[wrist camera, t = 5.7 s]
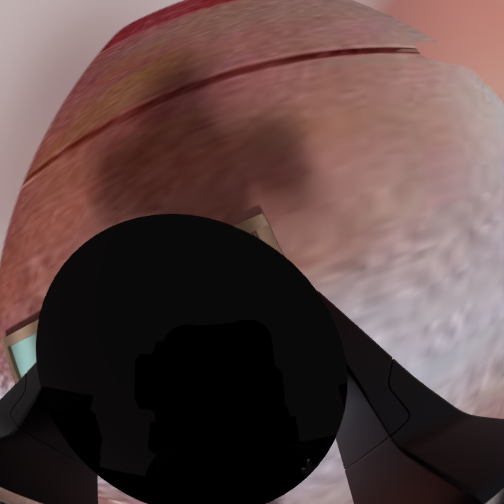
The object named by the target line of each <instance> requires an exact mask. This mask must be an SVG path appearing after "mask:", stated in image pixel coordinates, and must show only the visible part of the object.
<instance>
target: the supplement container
mask: <svg viewBox="0 0 504 504" xmlns="http://www.w3.org/2000/svg"><path fill="white" fill-rule="evenodd" d="M36 362H37V371H38V376H39V382H40V386H41V389H42V393H43V396H44V399H45V402H46V404H47V407H48V409H49V412H50V414H51V416H52V418H53V420H54V422H55V424H56V426H57V427H58V429H59V431H60V432H61V434H62V436H63V437H64V439H65V440H66V441H67V443H68V444H69V445H70V447H71V448H72V449H73V451H74V452H75V453H76V454H77V455H78V456H79V458H80V459H81V460H82V461H83V462H84V463H85V464H86V465H87V466H88V467H89V468H90V469H91V470H93V471H94V472H95V473H96V474H97V475H99V476H100V477H101V478H102V479H104V480H105V481H106V482H108V483H109V484H111V485H112V486H113V487H115V488H117V489H118V490H120V491H122V492H123V493H125V494H127V495H129V496H131V497H133V498H135V499H137V500H139V501H142V502H144V503H147V504H266V503H268V502H271V501H273V500H275V499H277V498H279V497H280V496H282V495H284V494H286V493H287V492H289V491H290V490H292V489H293V488H295V487H296V486H297V485H298V484H300V483H301V482H302V481H303V480H304V479H306V478H307V477H308V476H309V475H310V474H311V473H312V472H313V471H314V470H315V468H316V467H317V466H318V465H319V464H320V462H321V461H322V460H323V458H324V457H325V456H326V454H327V453H328V451H329V449H330V447H331V446H332V444H333V442H334V440H335V438H336V436H337V433H338V431H339V428H340V426H341V422H342V419H343V415H344V412H345V406H346V399H347V384H348V377H347V365H346V358H345V354H344V349H343V344H342V341H341V338H340V335H339V332H338V329H337V326H336V324H335V322H334V320H333V318H332V316H331V314H330V312H329V310H328V308H327V306H326V305H325V303H324V301H323V300H322V298H321V297H320V295H319V293H318V292H317V291H316V289H315V288H314V287H313V285H312V284H311V283H310V282H309V280H308V279H307V278H306V277H305V276H304V275H303V274H302V273H301V272H300V271H299V269H298V268H297V267H296V266H295V265H294V264H293V263H292V262H290V261H289V260H288V259H287V258H286V257H284V256H283V255H282V254H281V253H280V252H278V251H277V250H276V249H274V248H273V247H271V246H270V245H268V244H267V243H265V242H264V241H262V240H261V239H259V238H257V237H255V236H253V235H251V234H250V233H248V232H246V231H244V230H242V229H239V228H237V227H234V226H232V225H229V224H227V223H223V222H220V221H217V220H213V219H210V218H205V217H199V216H193V215H183V214H159V215H150V216H144V217H139V218H135V219H131V220H128V221H124V222H122V223H119V224H117V225H114V226H112V227H110V228H108V229H106V230H104V231H102V232H100V233H99V234H97V235H95V236H94V237H93V238H91V239H90V240H88V241H87V242H86V243H84V244H83V245H82V246H81V247H80V248H79V249H77V250H76V251H75V252H74V253H73V254H72V255H71V256H70V258H69V259H68V260H67V261H66V262H65V263H64V265H63V266H62V267H61V269H60V270H59V272H58V273H57V275H56V276H55V278H54V280H53V282H52V283H51V285H50V287H49V289H48V292H47V294H46V296H45V299H44V301H43V305H42V308H41V311H40V315H39V320H38V326H37V334H36Z"/></svg>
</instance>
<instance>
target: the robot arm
mask: <svg viewBox="0 0 504 504" xmlns="http://www.w3.org/2000/svg"><path fill="white" fill-rule="evenodd" d="M317 292H318V293H319V295H320V297H321V298H322V300H323V301H324V303H325V305H326V306H327V308H328V310H329V312H330V314H331V316H332V318H333V320H334V322H335V324H336V326H337V329H338V332H339V335H340V338H341V341H342V344H343V349H344V354H345V358H346V365H347V377H348V384H347V399H346V406H345V412H344V415H343V419H342V422H341V426H340V428H339V431H338V433H337V436H336V441H337V444H338V448H339V451H340V455H341V458H342V462H343V465H344V469H346V470H345V473H346V476H347V480H348V484H349V487H350V491H351V495H352V498H353V502H354V504H504V419H498V418H489V417H481V416H474V415H470V414H467V413H465V412H463V411H461V410H459V409H457V408H456V407H454V406H453V405H451V404H450V403H449V402H447V401H446V400H445V399H443V398H442V397H440V396H439V395H438V394H436V393H435V392H434V391H432V390H431V389H429V388H428V387H427V386H425V385H424V384H423V383H421V382H420V381H419V380H418V379H416V378H415V377H414V376H413V375H411V374H410V373H409V372H408V371H407V370H406V369H405V368H403V367H402V366H401V365H400V364H399V363H398V362H397V361H396V360H395V359H392V357H391V356H390V355H389V354H388V353H387V352H386V351H385V350H384V349H382V348H381V347H380V346H379V345H378V344H377V343H376V342H375V341H374V340H372V339H371V338H370V337H369V336H368V335H367V334H366V333H365V332H364V331H363V330H361V329H360V328H359V327H358V326H357V325H356V324H355V323H354V322H353V321H351V320H350V319H349V318H348V317H347V316H346V315H345V314H344V313H342V312H341V311H340V310H339V309H338V308H337V307H336V306H335V305H334V304H332V303H331V302H330V301H329V300H328V299H327V298H326V297H325V296H323V295H322V294H321V293H320V292H319V291H317ZM97 476H98V475H97V474H96V473H95V472H94V471H93V470H91V469H90V468H89V467H88V466H87V465H86V464H85V463H84V462H83V461H82V460H81V459H80V458H79V456H78V455H77V454H76V453H75V452H74V451H73V449H72V448H71V447H70V445H69V444H68V443H67V441H66V440H65V439H64V437H63V436H62V434H61V432H60V431H59V429H58V427H57V426H56V424H55V422H54V420H53V418H52V416H51V414H50V412H49V409H48V407H47V404H46V402H45V399H44V396H43V393H42V389H41V386H40V382H39V376H38V371H37V362H36V363H35V364H34V365H33V366H32V367H31V368H30V369H29V370H28V371H27V373H25V374H24V376H23V377H22V378H21V379H20V380H19V381H18V382H17V383H16V384H15V385H14V386H13V387H12V388H11V389H10V390H9V391H8V392H7V393H6V394H5V395H4V396H3V397H2V398H1V399H0V504H98V484H97Z"/></svg>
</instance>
